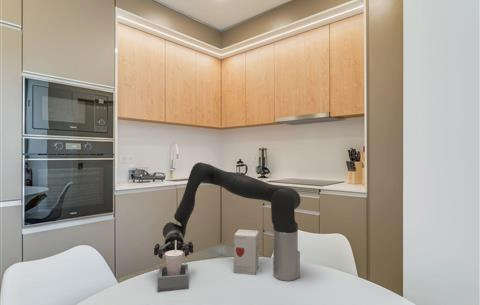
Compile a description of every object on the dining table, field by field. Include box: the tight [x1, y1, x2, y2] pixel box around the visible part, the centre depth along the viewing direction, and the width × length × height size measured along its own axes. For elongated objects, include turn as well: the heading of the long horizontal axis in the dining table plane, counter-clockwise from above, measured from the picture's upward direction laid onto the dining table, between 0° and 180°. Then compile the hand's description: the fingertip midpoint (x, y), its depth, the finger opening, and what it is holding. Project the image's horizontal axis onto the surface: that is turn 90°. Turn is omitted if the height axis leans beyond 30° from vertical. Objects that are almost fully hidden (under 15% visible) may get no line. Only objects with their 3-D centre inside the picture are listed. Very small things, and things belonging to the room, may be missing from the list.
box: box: [157, 263, 190, 293], centre depth 92 cm, size 10×10×4 cm
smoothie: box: [164, 240, 184, 276], centre depth 92 cm, size 6×6×14 cm
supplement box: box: [233, 228, 260, 276], centre depth 105 cm, size 9×9×15 cm
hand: (173, 254), depth 92 cm, fingers open, 8 cm apart
